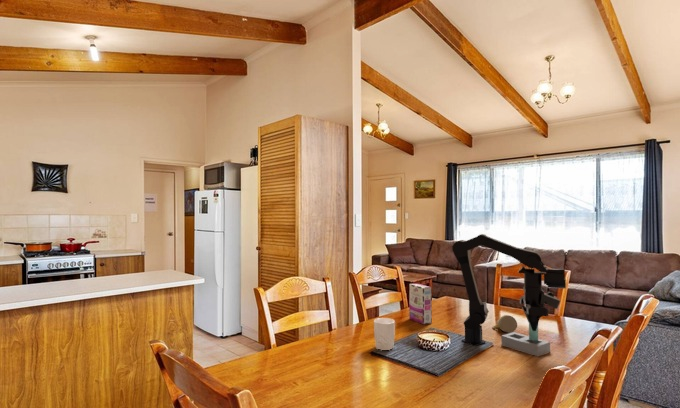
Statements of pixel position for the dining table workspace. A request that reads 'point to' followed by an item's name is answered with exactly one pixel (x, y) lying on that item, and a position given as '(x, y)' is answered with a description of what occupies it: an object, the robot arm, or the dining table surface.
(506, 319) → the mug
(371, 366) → the dining table surface
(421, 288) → the candy bar box
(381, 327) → the white cup
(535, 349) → the block
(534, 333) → the peg
